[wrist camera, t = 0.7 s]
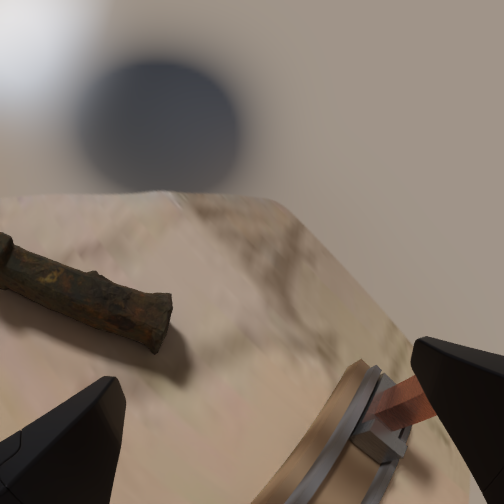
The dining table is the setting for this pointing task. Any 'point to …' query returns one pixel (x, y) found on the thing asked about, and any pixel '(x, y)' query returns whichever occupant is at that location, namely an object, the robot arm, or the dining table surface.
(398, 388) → the lever
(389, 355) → the dining table surface
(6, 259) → the dark brown bar
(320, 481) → the ball pusher game
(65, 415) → the robot arm
